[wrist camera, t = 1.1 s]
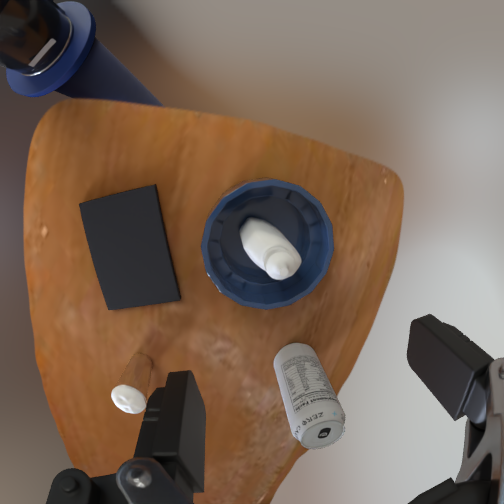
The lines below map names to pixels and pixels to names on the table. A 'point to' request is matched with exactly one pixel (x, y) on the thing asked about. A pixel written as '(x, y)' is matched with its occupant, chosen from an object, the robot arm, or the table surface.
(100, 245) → the mat
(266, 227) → the eye dropper bottle
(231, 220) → the bowl
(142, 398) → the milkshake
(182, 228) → the table surface
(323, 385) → the energy drink can
